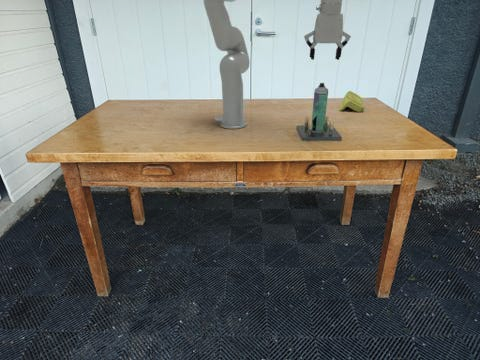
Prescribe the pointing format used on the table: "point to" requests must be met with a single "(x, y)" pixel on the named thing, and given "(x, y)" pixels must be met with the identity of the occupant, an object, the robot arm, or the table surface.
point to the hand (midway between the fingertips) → (324, 59)
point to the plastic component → (352, 102)
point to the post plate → (327, 135)
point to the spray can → (319, 108)
